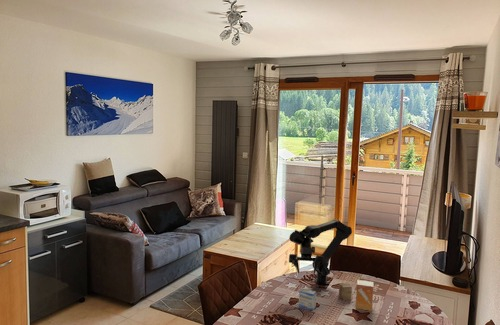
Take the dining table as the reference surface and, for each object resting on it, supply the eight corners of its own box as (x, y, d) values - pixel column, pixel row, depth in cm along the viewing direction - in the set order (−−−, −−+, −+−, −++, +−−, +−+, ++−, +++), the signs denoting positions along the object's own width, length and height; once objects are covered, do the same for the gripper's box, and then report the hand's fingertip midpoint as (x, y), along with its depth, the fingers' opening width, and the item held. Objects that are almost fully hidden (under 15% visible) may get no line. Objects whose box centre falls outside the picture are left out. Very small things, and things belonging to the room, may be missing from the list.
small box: (355, 308, 198) (356, 284, 196) (356, 303, 204) (357, 279, 202) (372, 311, 195) (373, 286, 194) (372, 305, 201) (373, 281, 200)
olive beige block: (338, 295, 212) (339, 283, 211) (347, 295, 213) (348, 282, 212) (342, 299, 207) (343, 287, 207) (351, 299, 208) (351, 286, 207)
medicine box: (298, 307, 198) (298, 290, 197) (301, 303, 202) (301, 287, 201) (313, 311, 194) (313, 294, 193) (316, 307, 198) (316, 291, 197)
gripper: (289, 239, 213) (289, 266, 203) (324, 241, 211) (325, 268, 202) (289, 249, 221) (288, 275, 212) (322, 250, 220) (323, 277, 210)
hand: (306, 274), depth 209 cm, fingers open, 8 cm apart
